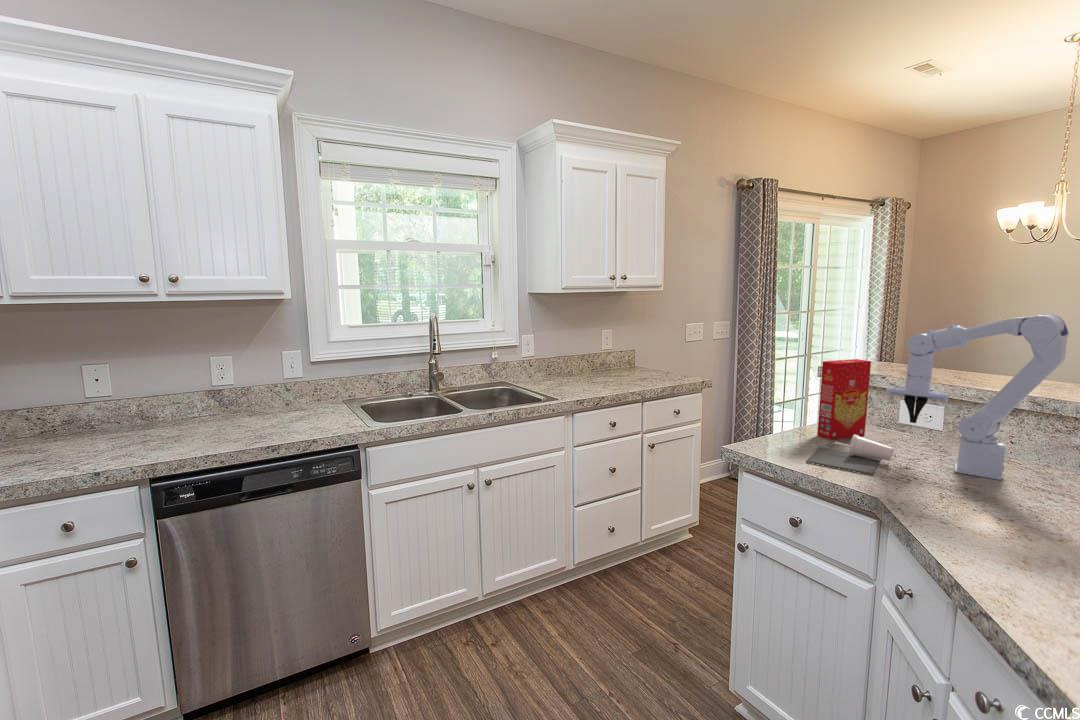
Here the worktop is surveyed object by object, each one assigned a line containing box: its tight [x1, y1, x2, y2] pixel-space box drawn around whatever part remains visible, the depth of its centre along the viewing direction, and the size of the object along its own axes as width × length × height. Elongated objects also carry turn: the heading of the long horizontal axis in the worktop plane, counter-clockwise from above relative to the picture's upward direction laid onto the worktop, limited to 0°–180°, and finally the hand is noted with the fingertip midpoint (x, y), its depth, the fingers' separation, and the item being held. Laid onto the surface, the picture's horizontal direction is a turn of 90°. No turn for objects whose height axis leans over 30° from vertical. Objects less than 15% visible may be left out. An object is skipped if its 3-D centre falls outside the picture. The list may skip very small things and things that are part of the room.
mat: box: [805, 446, 882, 476], centre depth 148 cm, size 16×16×1 cm
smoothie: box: [834, 434, 894, 462], centre depth 149 cm, size 6×6×14 cm
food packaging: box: [816, 358, 872, 441], centre depth 171 cm, size 15×5×25 cm, turn 109°
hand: (913, 422), depth 150 cm, fingers closed
